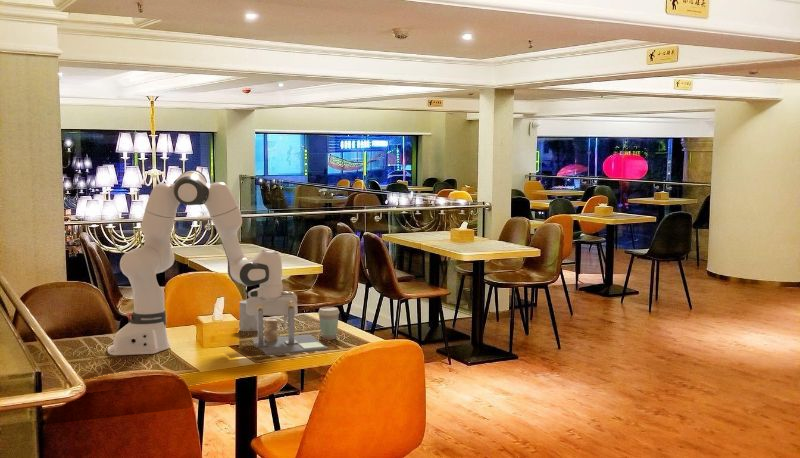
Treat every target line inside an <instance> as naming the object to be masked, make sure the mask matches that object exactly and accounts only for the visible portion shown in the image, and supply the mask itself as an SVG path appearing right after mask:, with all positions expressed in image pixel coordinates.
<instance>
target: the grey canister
mask: <svg viewBox="0 0 800 458" xmlns="http://www.w3.org/2000/svg"><path fill="white" fill-rule="evenodd" d="M246 302H247V299H242V300H239V304H238V305H239V332H254V331H255V332H258V323H257V320H256V318H255V315H248V314H247V313H246Z"/></svg>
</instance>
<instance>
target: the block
mask: <svg viewBox="0 0 800 458" xmlns="http://www.w3.org/2000/svg"><path fill="white" fill-rule="evenodd" d="M264 336H265V337H264V338H265V340H266V341H267V342H269V341H278V338H277V337H278V320H277V319H276V318H265V319H264Z"/></svg>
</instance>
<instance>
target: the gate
mask: <svg viewBox="0 0 800 458" xmlns="http://www.w3.org/2000/svg"><path fill="white" fill-rule="evenodd" d="M288 306H289V307H288V320H287V323H288V326H287V327H288V328H287V329H288V330H287V332H288V335H287V336H288V337H289V341H284V343H286V344H287V345H294V344H298V342H297V341H296V340H294V336H295V316H294V308H293V306H294V303H293V302H289V303H288ZM257 308H258V309H259V310H257V323H258V330H257V339H258V343H256V344H255V343H253V346H254V348H257V349H260V348H261V347H268V345H267V344H266V343H264V341H263V338H264V315H263V310H262V309H263V305H262V304H259V305H258V306H257Z"/></svg>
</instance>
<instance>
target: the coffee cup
mask: <svg viewBox="0 0 800 458" xmlns="http://www.w3.org/2000/svg"><path fill="white" fill-rule="evenodd" d="M317 314H318V317H319V318H318V320H319V327H320V334H321V338H323V339H324V340H326V341H327V340H328V341H332V340H336V339H337V335H338V326H339V325H338V324H339V318H340V317H339V316H340V315H339V314H340V310H339V308H338V307H335V306H324V307H319V309H318V312H317Z"/></svg>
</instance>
